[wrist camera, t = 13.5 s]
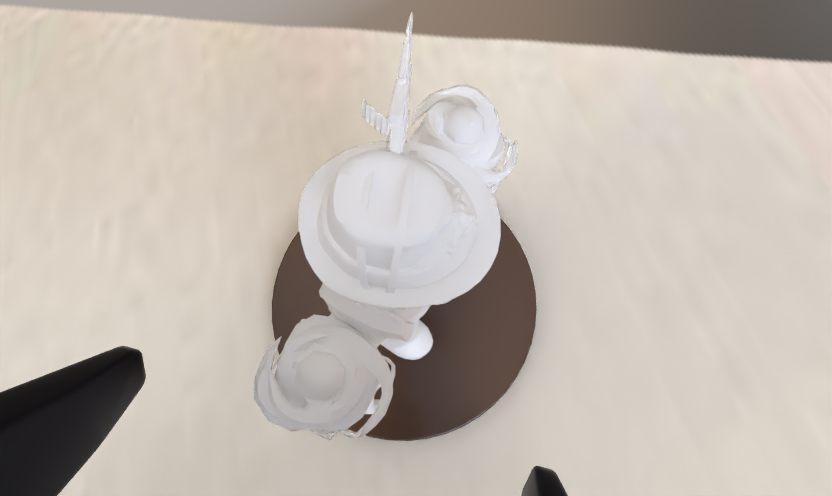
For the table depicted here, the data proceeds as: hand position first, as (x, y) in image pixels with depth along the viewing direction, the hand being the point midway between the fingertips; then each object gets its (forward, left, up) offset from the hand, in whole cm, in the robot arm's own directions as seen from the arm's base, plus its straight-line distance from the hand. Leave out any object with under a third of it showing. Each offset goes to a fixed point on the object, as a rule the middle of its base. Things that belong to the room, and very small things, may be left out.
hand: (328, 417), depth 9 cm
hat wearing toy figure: (+3, +3, -8) cm, 9 cm away
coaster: (+3, +3, -8) cm, 9 cm away
